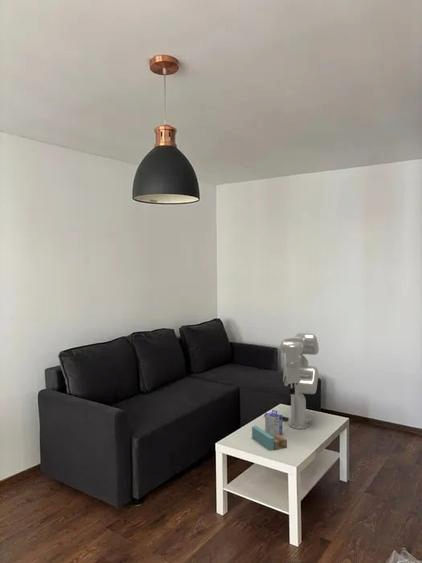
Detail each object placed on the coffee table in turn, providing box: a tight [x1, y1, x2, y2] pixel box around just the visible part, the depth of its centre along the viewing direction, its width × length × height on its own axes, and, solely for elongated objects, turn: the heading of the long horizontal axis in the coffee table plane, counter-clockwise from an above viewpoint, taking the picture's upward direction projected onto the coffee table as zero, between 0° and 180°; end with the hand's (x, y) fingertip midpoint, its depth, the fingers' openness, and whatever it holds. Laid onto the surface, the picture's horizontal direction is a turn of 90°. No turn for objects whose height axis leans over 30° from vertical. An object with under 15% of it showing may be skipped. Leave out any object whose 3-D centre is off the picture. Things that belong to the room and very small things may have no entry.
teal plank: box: [251, 425, 275, 451], centre depth 253 cm, size 3×20×7 cm, turn 25°
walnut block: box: [272, 435, 288, 451], centre depth 249 cm, size 8×8×5 cm
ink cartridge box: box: [264, 409, 283, 436], centre depth 267 cm, size 10×6×14 cm, turn 58°
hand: (292, 394), depth 259 cm, fingers closed
